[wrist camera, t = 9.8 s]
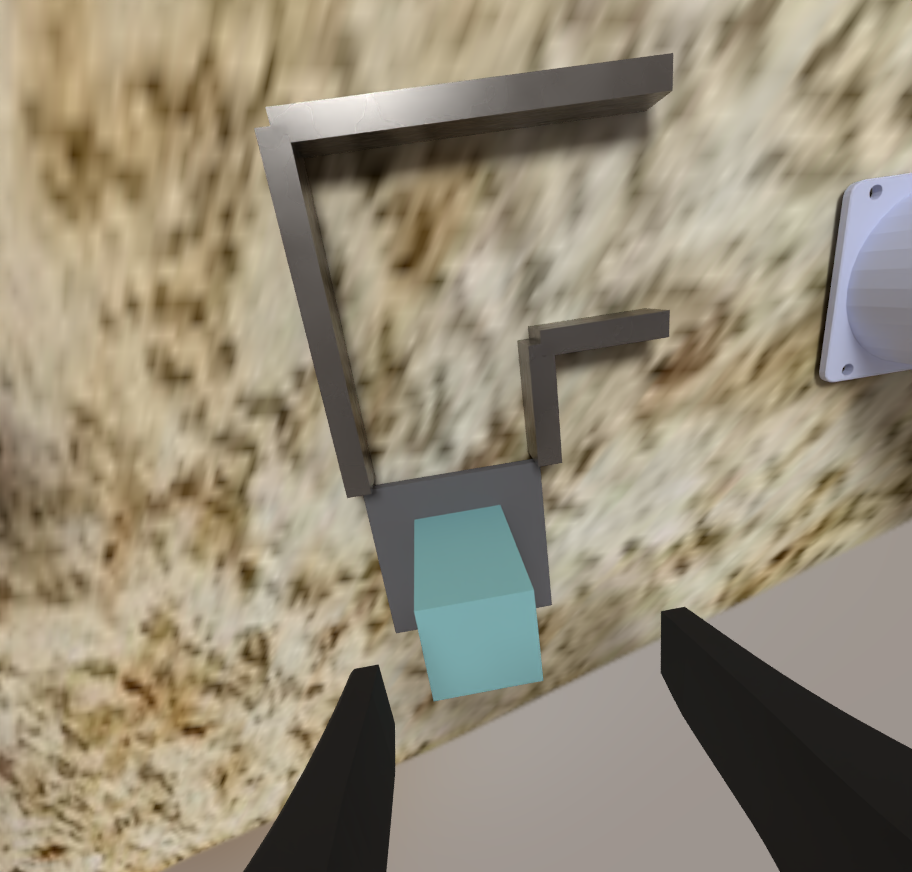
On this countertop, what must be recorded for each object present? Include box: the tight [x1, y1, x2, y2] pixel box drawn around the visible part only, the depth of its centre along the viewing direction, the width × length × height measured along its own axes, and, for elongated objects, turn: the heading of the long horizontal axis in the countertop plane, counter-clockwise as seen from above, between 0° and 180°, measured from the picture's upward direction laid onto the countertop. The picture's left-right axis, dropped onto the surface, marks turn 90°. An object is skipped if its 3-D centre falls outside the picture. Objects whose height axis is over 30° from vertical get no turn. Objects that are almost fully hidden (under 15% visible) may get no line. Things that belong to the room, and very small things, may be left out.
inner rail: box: [517, 308, 670, 467], centre depth 18 cm, size 6×6×2 cm
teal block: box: [414, 505, 543, 701], centre depth 18 cm, size 4×4×6 cm
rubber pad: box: [363, 459, 552, 633], centre depth 21 cm, size 8×8×1 cm
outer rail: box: [254, 53, 673, 498], centre depth 17 cm, size 14×14×2 cm
